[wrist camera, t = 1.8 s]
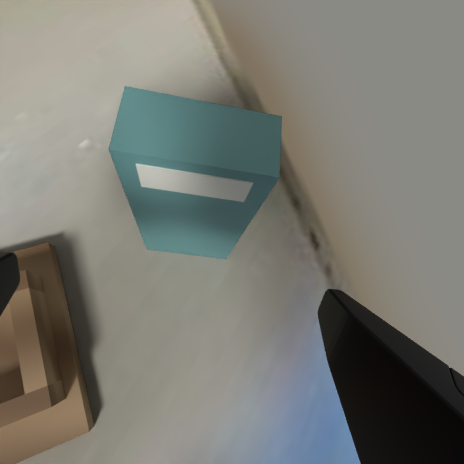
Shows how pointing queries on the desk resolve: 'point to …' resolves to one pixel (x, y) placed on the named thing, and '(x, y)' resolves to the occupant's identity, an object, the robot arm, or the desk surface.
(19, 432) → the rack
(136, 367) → the desk surface
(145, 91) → the teal labeled box
